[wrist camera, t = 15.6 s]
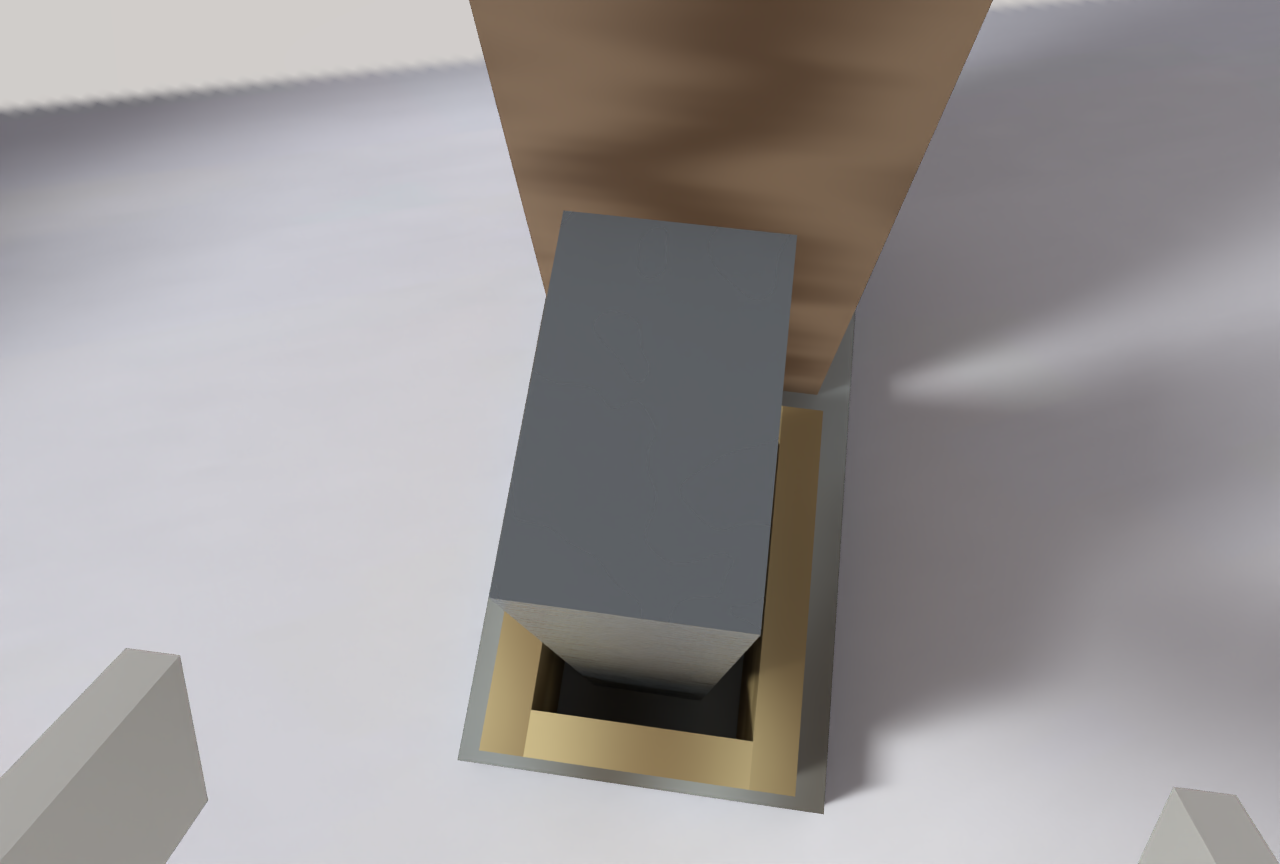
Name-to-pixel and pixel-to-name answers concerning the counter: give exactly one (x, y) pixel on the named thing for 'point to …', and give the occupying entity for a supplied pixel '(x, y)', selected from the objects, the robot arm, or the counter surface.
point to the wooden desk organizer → (817, 337)
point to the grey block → (650, 451)
